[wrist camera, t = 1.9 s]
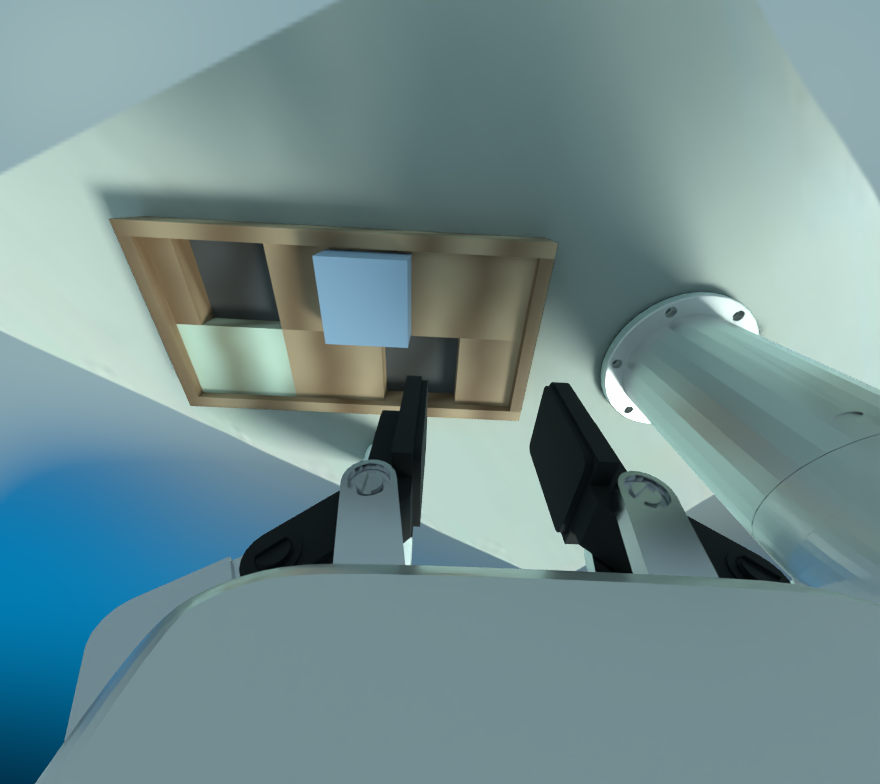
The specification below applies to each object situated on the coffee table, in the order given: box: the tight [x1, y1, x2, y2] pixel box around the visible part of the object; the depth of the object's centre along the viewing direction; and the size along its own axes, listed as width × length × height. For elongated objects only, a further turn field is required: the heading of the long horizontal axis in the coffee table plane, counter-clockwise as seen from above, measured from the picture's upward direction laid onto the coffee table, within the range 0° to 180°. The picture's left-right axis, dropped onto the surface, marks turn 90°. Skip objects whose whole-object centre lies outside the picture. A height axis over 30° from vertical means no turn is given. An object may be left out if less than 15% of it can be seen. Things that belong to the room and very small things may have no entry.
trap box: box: [109, 216, 558, 421], centre depth 27 cm, size 30×15×3 cm, turn 87°
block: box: [312, 249, 411, 348], centre depth 23 cm, size 6×6×3 cm
